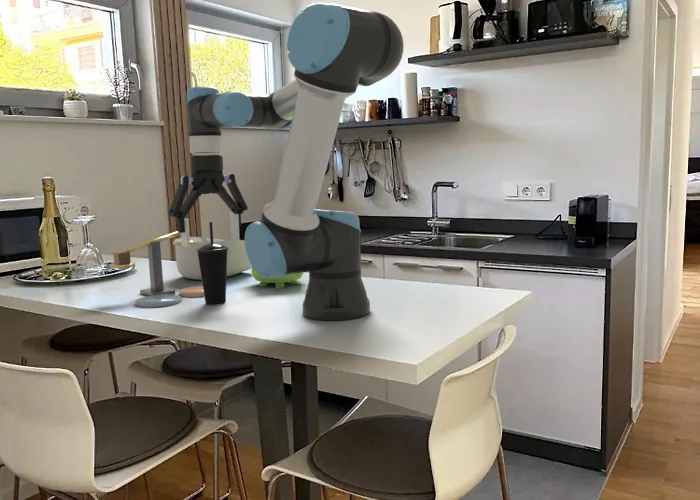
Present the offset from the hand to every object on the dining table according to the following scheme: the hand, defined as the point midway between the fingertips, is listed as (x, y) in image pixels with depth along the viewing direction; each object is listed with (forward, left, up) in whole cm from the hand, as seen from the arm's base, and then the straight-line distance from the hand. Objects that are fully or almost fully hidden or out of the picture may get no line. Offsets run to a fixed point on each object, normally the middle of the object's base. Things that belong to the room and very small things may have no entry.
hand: (211, 243), depth 151 cm
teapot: (+8, -24, -15) cm, 29 cm away
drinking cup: (0, 0, -15) cm, 15 cm away
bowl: (+33, -18, -15) cm, 40 cm away
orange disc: (+14, -4, -15) cm, 21 cm away
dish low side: (+12, +9, -15) cm, 21 cm away
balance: (+22, +5, -15) cm, 27 cm away
